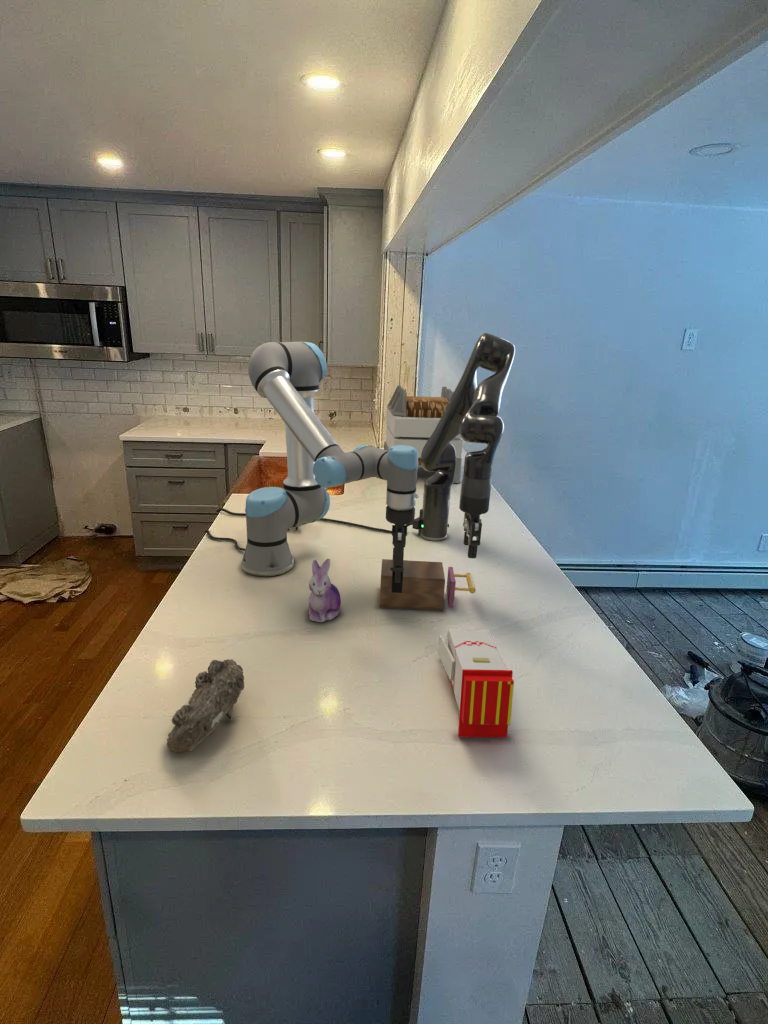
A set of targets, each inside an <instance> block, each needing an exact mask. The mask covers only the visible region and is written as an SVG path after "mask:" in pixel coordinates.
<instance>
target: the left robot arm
mask: <svg viewBox="0 0 768 1024" xmlns="http://www.w3.org/2000/svg"><path fill="white" fill-rule="evenodd" d="M327 368H328V367H327V360H326V356H325V355H324V353H323V351H322V350H321V349H320V347H319V346H317V345H316V343H313V342H308V341H300V340H299V341H269V342H264V343H261V345H259V346H257V347H256V348H255V349H254V350H253V352H252V353H251V355H250V358H249V360H248V366H247V370H248V371H247V372H248V376H249V377H248V378H249V381H250V383H251V385H252V387H253V388H254V390H255V391H256V393H257V394H258V395H259V396H260V397H261V398H263V399H266V400H267V401H268V402H269V404H270V405H271V406H272V408H273V409H274V410H275V411H276V413H277V414H278V416H279V417H280V418H281V420H282V421H283V423H284V426H285V442H286V443H285V444H286V463H287V464H286V465H287V476H286V477H285V479H284V480H283V481H282V486H283V488H282V487H279V486H269V487H268V486H265V487H260V488H257V489H255V490H253V491H252V492H250V493H249V494H248V495H247V497H246V499H245V507H244V513H246V516H245V522H246V523H245V524H246V525H245V526H246V545H245V547H240V546H239V545H238V544H239V543H238V541H237V540H236V539H234V538H231V537H217V536H213V534H211V531H210V530H209V529H205V530H204V534H207V535H208V537H209V538H210V539H212V540H216V541H230V542H233V543H234V547H235V549H236V550H238V551H241V552H243V554H242V559H241V569H242V570H243V572H245V573H246V574H249V575H252V576H254V577H255V576H256V577H274V576H275V577H276V576H280V575H283V574H286V573H287V572H289V571H291V570H292V569H293V568H294V561H295V557H294V556H293V554H292V551H291V549H290V545H289V542H288V530H287V529H289V530H290V529H295V528H296V527H297V526H300V525H301V526H303V525H308V524H311V523H315V522H317V521H320V520H319V519H321V518H325V516H327V514H328V512H329V510H330V507H331V497H330V493H329V492H328V489H327V488H334V487H340V486H342V485H346V484H349V483H353V482H358V481H362V480H367V479H370V478H377V479H380V480H383V481H386V494H385V496H386V497H385V498H386V499H385V504H386V506H385V520H386V521H387V522H388V523H390V524H391V531H392V533H391V536H392V541H391V542H392V543H391V545H392V546H393V548H392V550H393V551H392V560H394V563H393V568H390V571H392V592H391V593H402V583H403V570H404V569H403V560H405V559H404V558H405V557H404V556H405V548H406V545H407V536H408V527H407V526H405V525H406V524H410V523H412V522H413V521H414V519H416V508H415V507H416V499H418V498H419V494H417V481H418V470H419V466H418V451H417V449H416V448H414V447H412V446H405V445H395V446H391V447H390V448H389V451H387V450H384V448H380V447H376V446H373V445H366V444H361V445H358V446H357V447H356V448H354V449H353V450H352V451H347V452H345V451H344V449H342V448H341V446H340V445H339V444H338V443H337V441H336V440H335V439H334V437H333V436H332V435H331V434H330V432H329V431H328V430H327V428H326V427H325V426H324V425H323V423H322V422H321V420H320V419H319V418H318V416H317V415H316V414H315V395H316V394H317V393H318V392H319V390H320V386H319V385H320V383H321V382H322V381H323V380H324V379H325V376H326V375H327ZM301 526H300V527H301ZM294 527H295V528H294Z"/></svg>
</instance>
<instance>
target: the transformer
mask: <svg viewBox="0 0 768 1024" xmlns="http://www.w3.org/2000/svg"><path fill="white" fill-rule="evenodd" d="M454 391H455V390H452V389H451V388H447V386H442V387H441V392H440V393H441V394H440V396H415V395H414V396H413V395H412V396H411V395H407V394H408V393H407V390H406V389H404V388H403V387H402V385H399V384H398V385H397V386H396V388H395V390H394V392H393V394H392V395H391V398H390V400H389V402H388V404H387V405H386V413H385V414H386V415H385V423H386V428H385V438H384V442H383V450H387V451H389V448H390V447H391V446H395V445H405V446H412V447H414V448H416V449H417V451H418V467H422V466H421V462H420V457H421V452H422V450H423V447H424V446H425V444H426V442H427V441H428V439H429V438H430V436H431V435H432V433H433V432H434V430H435V428H436V426H437V425H438V423H439V421H440V419H441V417H442V415H443V413H444V411H445V408H446V406H447V404H448V402H449V400H450V398H451V396H452V394H453V393H454ZM463 442H464V440H463V439H462V437H461V435H460V434H459V435H458V436H457V437H455V438H454V439H453V440H452V441H450V442H449V443H451V444H452V445H453V446H454V448H455V451H456V467H455V473H454V481H453V484H455V483H456V484H459V483H461V472H462V461H463V460H462V453H463Z"/></svg>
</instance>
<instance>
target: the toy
mask: <svg viewBox="0 0 768 1024" xmlns="http://www.w3.org/2000/svg"><path fill="white" fill-rule="evenodd" d="M446 640H447V643H446V641H445V639H444V636H443V635H442V634H439V637H438V646H437V656H438V657H439V659H440V661H441V663H442V666H443V668H444V670H445V672H446V674H447V677H448V679H449V681H450V684H451V687H452V690H453V693H454V697H455V701H456V705H457V708H458V711H459V714H458V715H459V716H458V730H457V731H458V732H457V737H458V738H508V731H509V726H510V725H511V717H512V707H513V697H514V696H513V695H514V684H515V680H514V679H513V673H514V671H513V670H512V669H508V667H507V665H506V662H505V661H504V659H503V658H502V655H501V653H500V651H499V649H498V647H497V643H496V639H495V637H494V635H493V634H491V632H490V631H489V629H467V628H466V629H465V628H463V629H461V628H460V629H459V628H448V630H447V639H446Z"/></svg>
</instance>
